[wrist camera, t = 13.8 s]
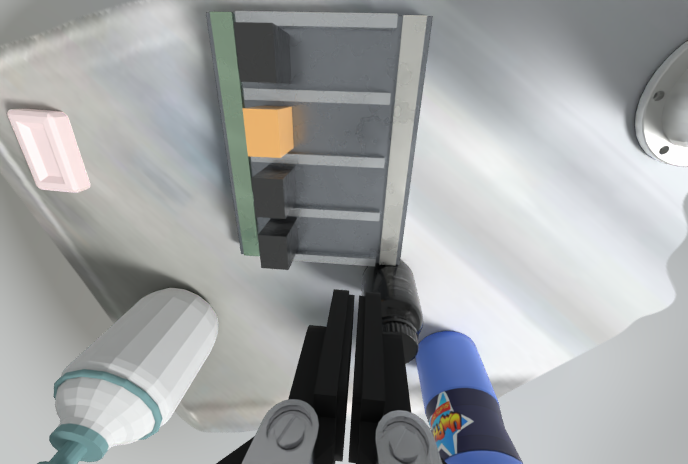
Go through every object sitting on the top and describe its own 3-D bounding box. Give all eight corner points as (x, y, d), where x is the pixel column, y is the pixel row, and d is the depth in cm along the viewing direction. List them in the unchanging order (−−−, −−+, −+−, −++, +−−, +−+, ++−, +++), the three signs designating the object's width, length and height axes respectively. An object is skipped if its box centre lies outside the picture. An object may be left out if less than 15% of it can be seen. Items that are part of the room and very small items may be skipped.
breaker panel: (428, 21, 27) (446, 0, 20) (398, 256, 38) (403, 289, 31) (216, 17, 28) (171, -4, 22) (247, 246, 39) (223, 276, 33)
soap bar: (69, 111, 33) (48, 113, 31) (94, 187, 37) (77, 194, 35) (25, 108, 34) (1, 109, 31) (54, 184, 38) (35, 190, 35)
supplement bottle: (352, 273, 39) (345, 341, 29) (393, 246, 37) (403, 310, 26) (382, 305, 41) (386, 381, 31) (423, 282, 39) (443, 355, 28)
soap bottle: (146, 269, 42) (-298, 625, 14) (230, 292, 43) (-36, 677, 15) (148, 330, 48) (-168, 672, 20) (223, 349, 48) (19, 709, 20)
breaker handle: (291, 106, 29) (277, 109, 24) (293, 147, 31) (280, 157, 26) (262, 105, 29) (242, 108, 25) (265, 146, 31) (247, 156, 26)
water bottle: (402, 358, 46) (432, 616, 23) (439, 320, 42) (520, 587, 19) (450, 382, 47) (522, 646, 25) (491, 347, 43) (620, 625, 21)
